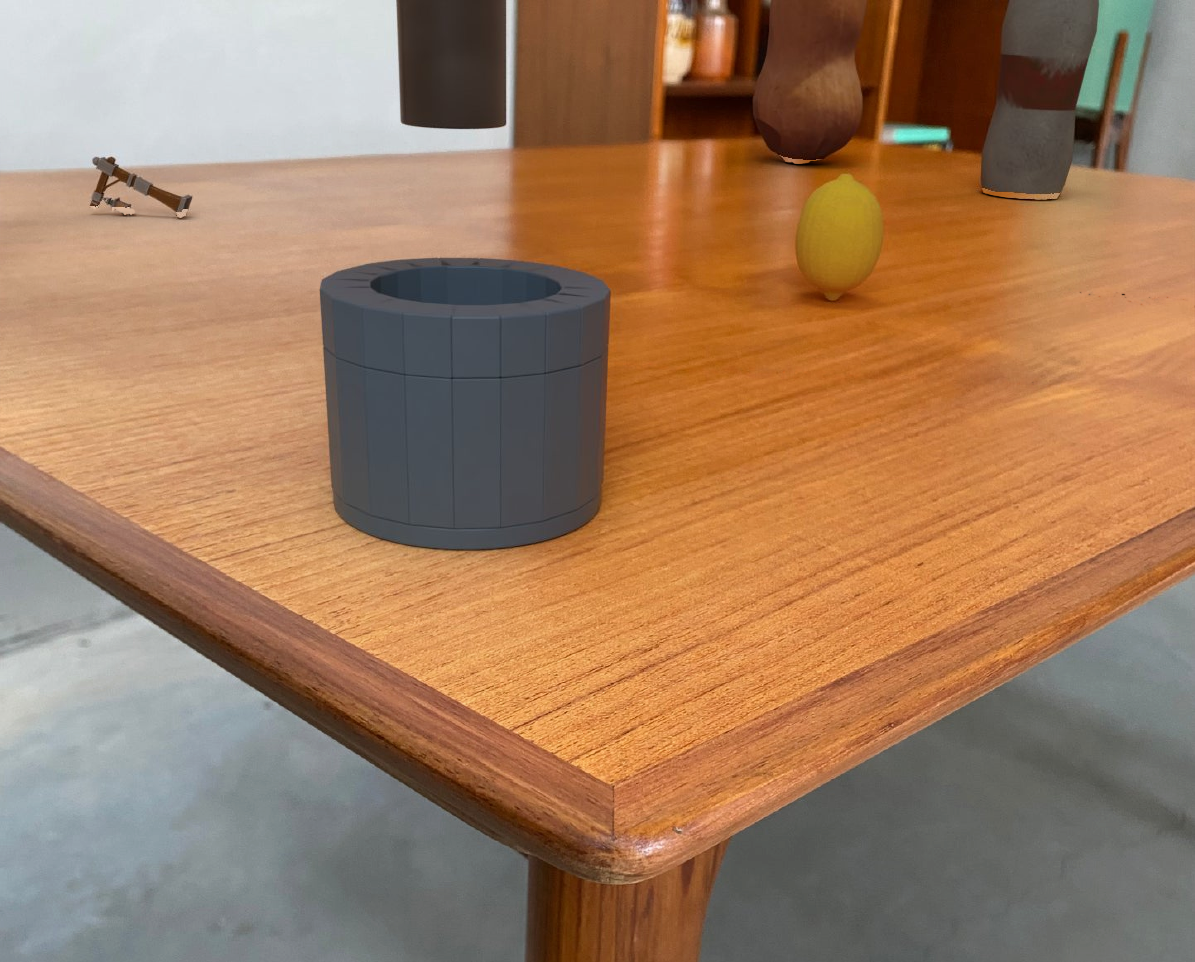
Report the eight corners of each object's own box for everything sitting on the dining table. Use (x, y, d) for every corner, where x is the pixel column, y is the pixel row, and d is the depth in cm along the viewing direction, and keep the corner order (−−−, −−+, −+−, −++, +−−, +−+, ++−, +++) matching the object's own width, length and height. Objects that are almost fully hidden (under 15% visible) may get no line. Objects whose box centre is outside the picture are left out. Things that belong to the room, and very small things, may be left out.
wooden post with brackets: (84, 200, 103) (99, 148, 101) (177, 244, 104) (193, 193, 103) (75, 203, 101) (91, 150, 100) (170, 247, 103) (187, 196, 101)
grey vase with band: (973, 196, 133) (1025, -127, 120) (977, 187, 141) (1026, -118, 128) (1065, 204, 130) (1128, -126, 117) (1064, 193, 138) (1123, -117, 125)
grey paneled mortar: (291, 535, 43) (274, 303, 40) (382, 446, 52) (374, 250, 49) (576, 562, 42) (583, 325, 38) (618, 466, 51) (627, 267, 47)
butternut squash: (877, 167, 155) (905, -58, 144) (795, 171, 149) (818, -65, 138) (804, 155, 166) (826, -56, 155) (724, 158, 159) (741, -63, 148)
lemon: (867, 293, 84) (882, 169, 81) (880, 311, 79) (898, 180, 76) (785, 290, 84) (797, 166, 81) (793, 308, 79) (807, 176, 76)
